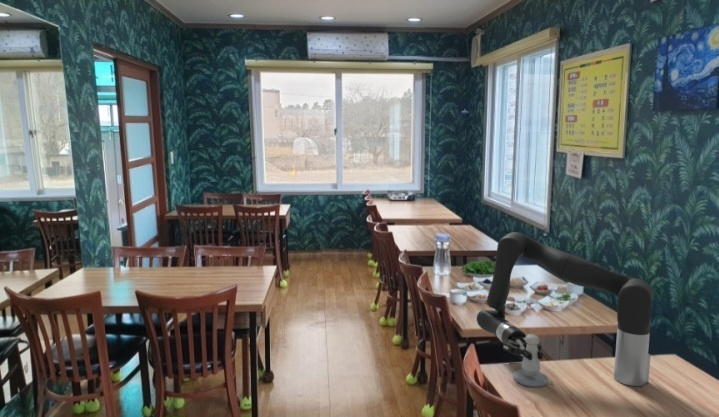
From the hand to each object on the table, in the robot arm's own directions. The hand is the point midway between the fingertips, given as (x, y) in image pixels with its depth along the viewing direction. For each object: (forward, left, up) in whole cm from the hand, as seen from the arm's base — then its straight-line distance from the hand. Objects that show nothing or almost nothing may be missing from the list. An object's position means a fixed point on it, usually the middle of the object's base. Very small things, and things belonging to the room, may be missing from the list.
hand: (536, 356), depth 160 cm
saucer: (0, -3, -9) cm, 10 cm away
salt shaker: (0, -3, -7) cm, 8 cm away
